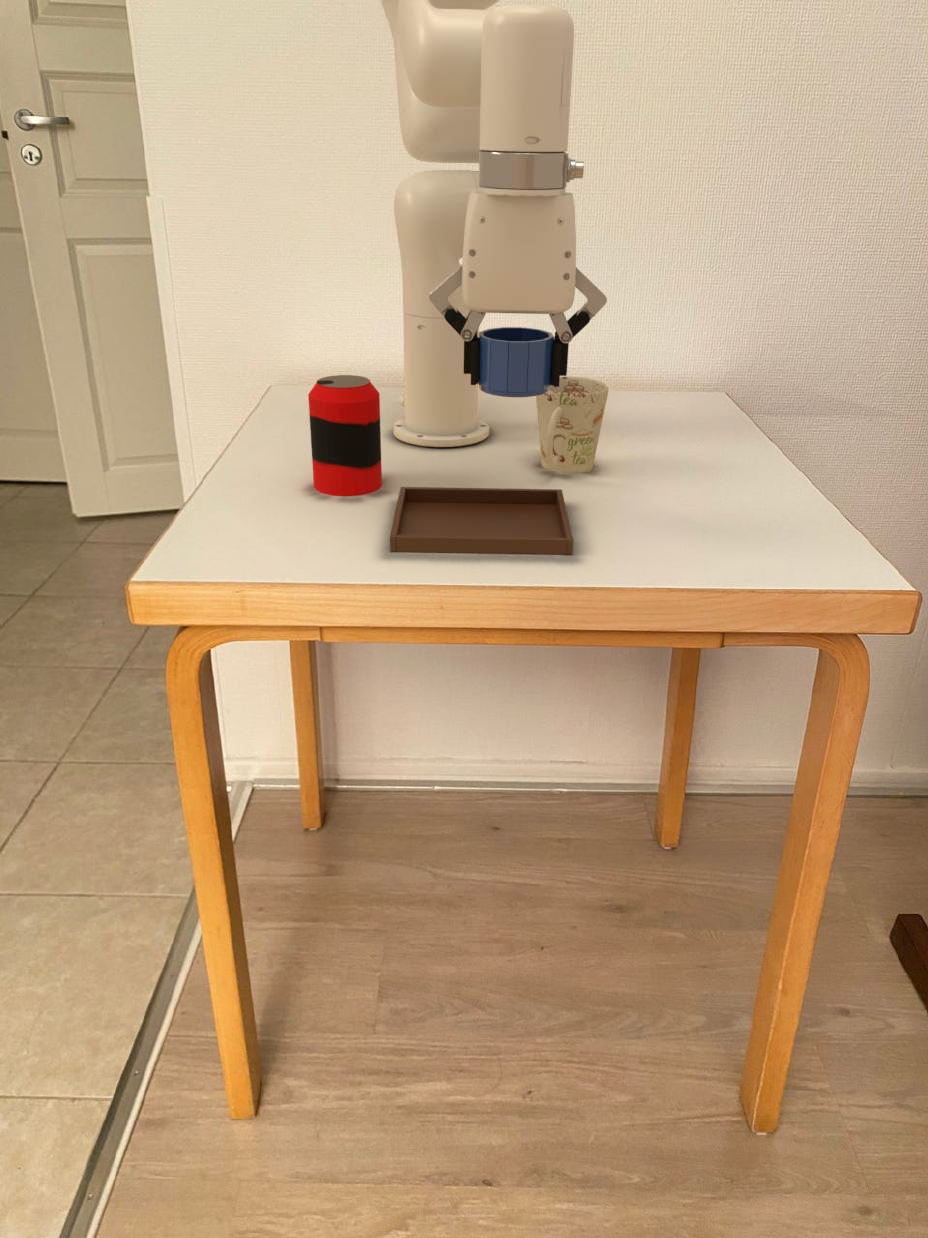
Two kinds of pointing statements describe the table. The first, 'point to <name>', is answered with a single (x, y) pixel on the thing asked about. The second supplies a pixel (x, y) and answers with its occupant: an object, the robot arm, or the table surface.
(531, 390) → the bowl
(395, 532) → the tray
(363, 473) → the soda can
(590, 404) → the mug
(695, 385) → the table surface
